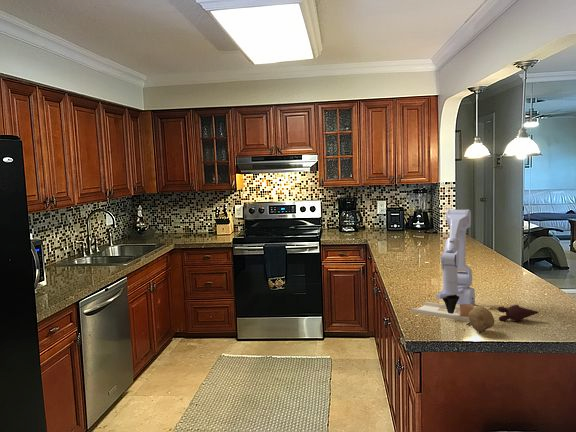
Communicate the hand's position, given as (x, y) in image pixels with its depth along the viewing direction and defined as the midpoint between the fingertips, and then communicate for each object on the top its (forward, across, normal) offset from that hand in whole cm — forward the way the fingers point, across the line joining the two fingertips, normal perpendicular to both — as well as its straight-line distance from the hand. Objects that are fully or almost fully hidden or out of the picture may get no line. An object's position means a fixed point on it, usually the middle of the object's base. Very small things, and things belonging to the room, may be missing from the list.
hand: (450, 312), depth 201 cm
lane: (+3, -2, -3) cm, 4 cm away
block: (+1, -4, +5) cm, 6 cm away
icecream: (+3, -18, +18) cm, 26 cm away
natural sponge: (+3, +4, +18) cm, 18 cm away
